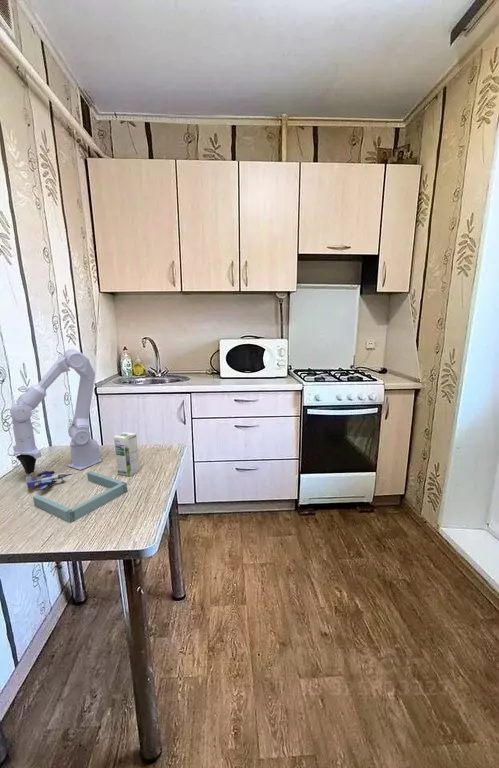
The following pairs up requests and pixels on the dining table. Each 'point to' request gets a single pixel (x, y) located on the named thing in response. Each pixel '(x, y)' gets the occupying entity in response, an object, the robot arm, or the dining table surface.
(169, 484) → the dining table surface
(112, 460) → the dining table surface
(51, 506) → the bay
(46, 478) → the toy airplane
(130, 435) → the syrup box
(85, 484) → the dining table surface
